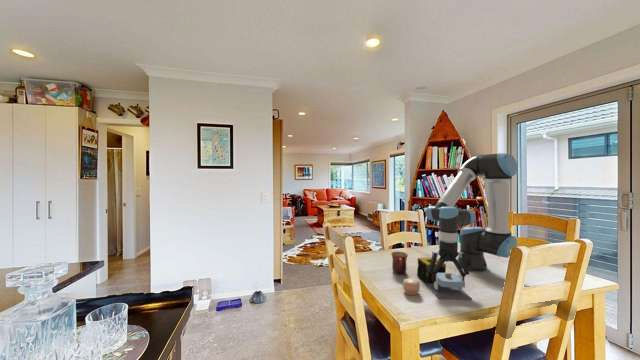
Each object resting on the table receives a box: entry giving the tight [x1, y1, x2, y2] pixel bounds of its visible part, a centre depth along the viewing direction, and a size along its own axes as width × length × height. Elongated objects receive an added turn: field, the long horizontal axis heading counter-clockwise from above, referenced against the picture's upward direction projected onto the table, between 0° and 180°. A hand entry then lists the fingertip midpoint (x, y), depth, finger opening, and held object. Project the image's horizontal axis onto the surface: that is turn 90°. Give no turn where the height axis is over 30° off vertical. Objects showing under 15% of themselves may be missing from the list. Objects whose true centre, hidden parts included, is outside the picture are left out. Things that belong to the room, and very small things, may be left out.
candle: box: [416, 257, 447, 285], centre depth 128 cm, size 10×10×10 cm
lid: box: [437, 272, 466, 289], centre depth 115 cm, size 10×10×4 cm
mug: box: [390, 251, 409, 275], centre depth 136 cm, size 12×9×10 cm
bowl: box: [402, 277, 421, 296], centre depth 114 cm, size 7×7×5 cm
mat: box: [426, 283, 473, 301], centre depth 115 cm, size 14×14×1 cm
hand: (447, 288), depth 115 cm, fingers closed on lid, 10 cm apart
